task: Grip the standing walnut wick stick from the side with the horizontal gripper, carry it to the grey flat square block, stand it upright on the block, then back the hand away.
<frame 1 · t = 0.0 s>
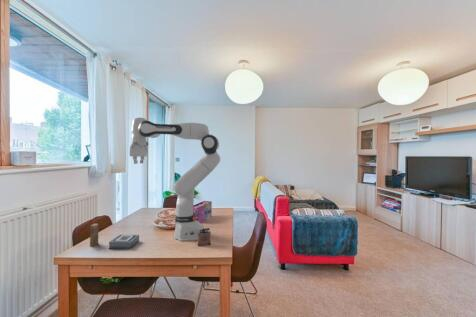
hand: (138, 163, 154), 48 cm above the table, tool pointing down, fingers open, 8 cm apart
gum box: (202, 219, 196), on the table
lighter: (204, 245, 140), on the table
grey flat square block: (124, 244, 138), on the table
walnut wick: (94, 244, 138), on the table
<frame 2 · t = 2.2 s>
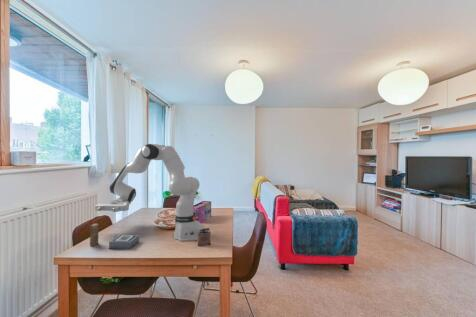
hand: (105, 209, 150), 18 cm above the table, tool horizontal, fingers open, 8 cm apart
nothing on the table moved.
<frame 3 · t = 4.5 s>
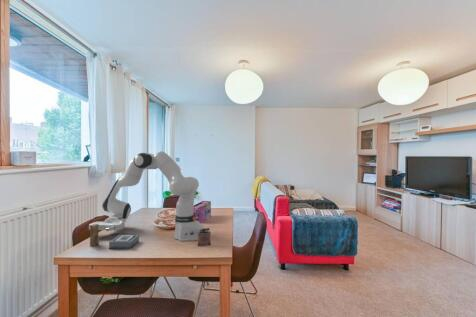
hand: (99, 229, 143), 7 cm above the table, tool horizontal, fingers open, 8 cm apart
nothing on the table moved.
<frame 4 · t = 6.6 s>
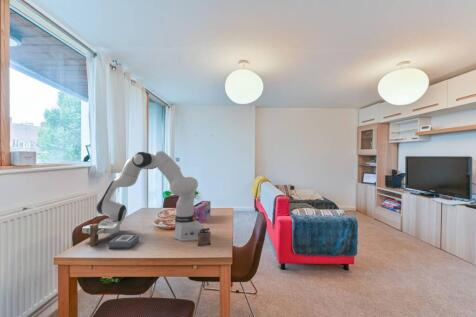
hand: (93, 233, 137), 7 cm above the table, tool horizontal, fingers closed on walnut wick, 3 cm apart
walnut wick: (94, 244, 138), on the table, touching gripper
everything else where it was.
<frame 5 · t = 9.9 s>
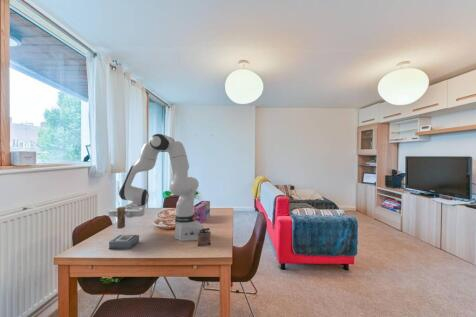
hand: (120, 215, 137), 18 cm above the table, tool horizontal, fingers closed on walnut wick, 2 cm apart
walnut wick: (121, 227, 138), point 10 cm above the table, touching gripper
when the fingers open (10 cm above the table, at t = 12.8 s): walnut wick drops 1 cm, resting on grey flat square block.
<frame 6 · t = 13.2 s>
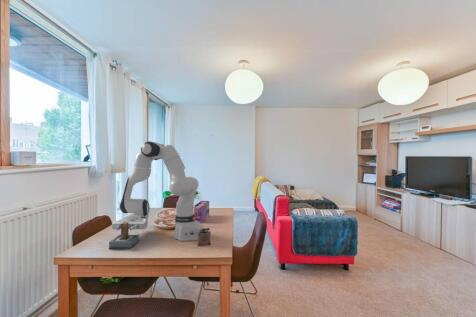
hand: (124, 228, 137), 10 cm above the table, tool horizontal, fingers open, 7 cm apart
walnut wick: (124, 242, 138), point 1 cm above the table, touching grey flat square block
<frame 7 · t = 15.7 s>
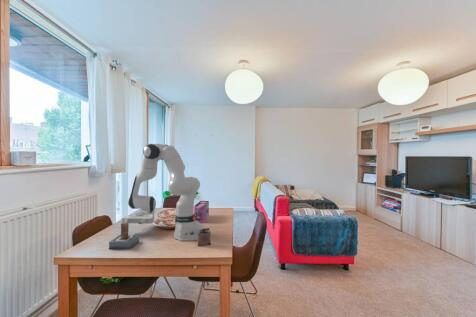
hand: (133, 222, 149), 10 cm above the table, tool horizontal, fingers open, 8 cm apart
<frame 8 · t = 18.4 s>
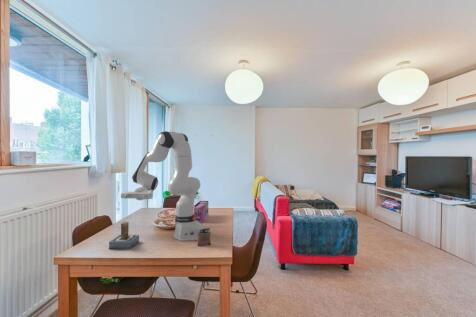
hand: (132, 197, 152), 26 cm above the table, tool horizontal, fingers open, 8 cm apart
at the end: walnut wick 0.0 cm off-centre on the grey flat square block, point 1.2 cm above the grey flat square block's base; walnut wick tilted 0°; the gripper is holding nothing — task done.
